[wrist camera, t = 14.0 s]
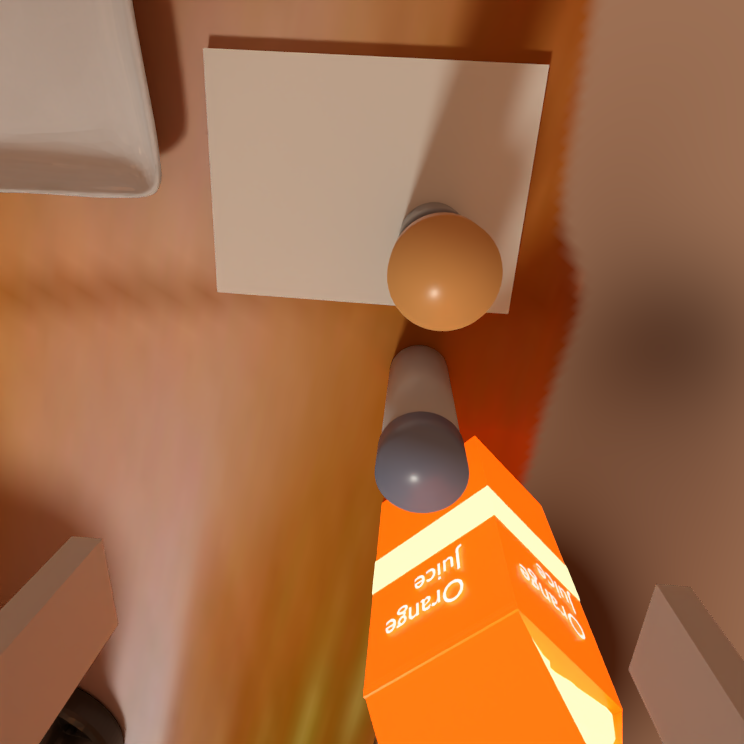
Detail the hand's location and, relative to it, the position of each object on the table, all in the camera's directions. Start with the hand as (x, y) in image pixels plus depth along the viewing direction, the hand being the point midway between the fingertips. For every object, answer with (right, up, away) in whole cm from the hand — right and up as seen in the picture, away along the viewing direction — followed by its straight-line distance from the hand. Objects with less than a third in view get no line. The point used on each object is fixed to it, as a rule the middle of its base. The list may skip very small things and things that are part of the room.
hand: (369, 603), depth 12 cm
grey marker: (+3, +6, +20) cm, 21 cm away
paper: (0, +16, +16) cm, 23 cm away
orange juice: (+6, -4, +24) cm, 25 cm away
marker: (+4, +13, +16) cm, 21 cm away
